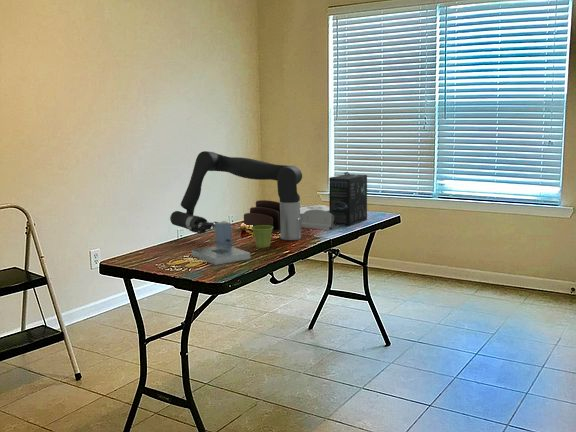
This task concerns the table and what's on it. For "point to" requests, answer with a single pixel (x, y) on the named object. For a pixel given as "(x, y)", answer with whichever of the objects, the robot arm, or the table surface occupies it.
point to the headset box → (348, 198)
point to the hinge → (317, 219)
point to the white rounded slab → (304, 209)
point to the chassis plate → (220, 254)
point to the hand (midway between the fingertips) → (213, 229)
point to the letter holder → (264, 215)
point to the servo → (223, 233)
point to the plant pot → (262, 235)
